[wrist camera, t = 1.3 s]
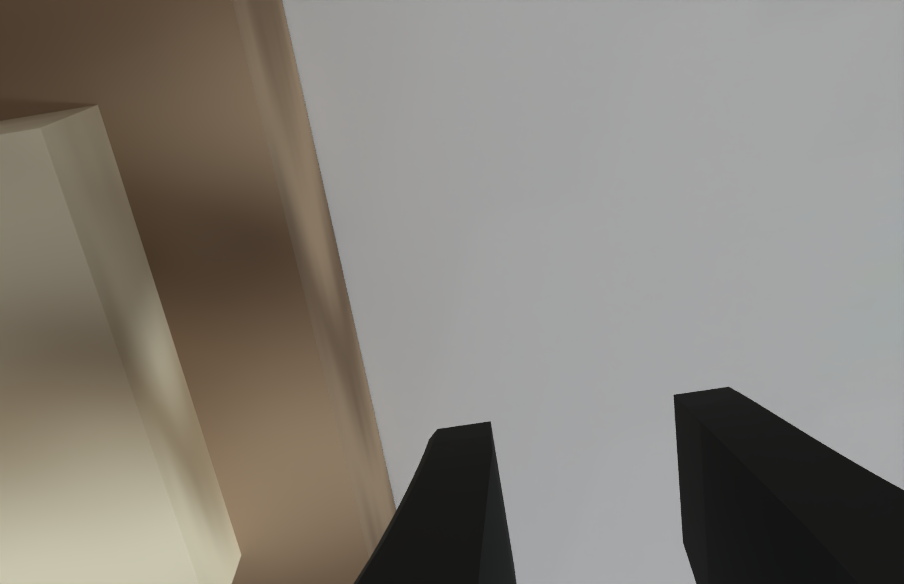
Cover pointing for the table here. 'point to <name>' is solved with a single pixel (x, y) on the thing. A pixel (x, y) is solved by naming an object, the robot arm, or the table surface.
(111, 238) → the birch tile
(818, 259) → the table surface
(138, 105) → the walnut deck
